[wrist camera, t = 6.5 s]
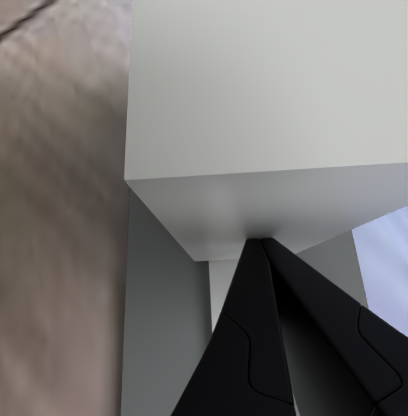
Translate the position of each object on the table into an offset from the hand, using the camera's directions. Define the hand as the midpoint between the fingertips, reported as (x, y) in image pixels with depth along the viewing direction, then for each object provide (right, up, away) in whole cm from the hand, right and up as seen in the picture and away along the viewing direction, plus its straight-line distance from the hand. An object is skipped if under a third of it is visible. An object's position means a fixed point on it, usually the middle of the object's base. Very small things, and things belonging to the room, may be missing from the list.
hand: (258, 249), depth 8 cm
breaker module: (0, +1, +7) cm, 7 cm away
